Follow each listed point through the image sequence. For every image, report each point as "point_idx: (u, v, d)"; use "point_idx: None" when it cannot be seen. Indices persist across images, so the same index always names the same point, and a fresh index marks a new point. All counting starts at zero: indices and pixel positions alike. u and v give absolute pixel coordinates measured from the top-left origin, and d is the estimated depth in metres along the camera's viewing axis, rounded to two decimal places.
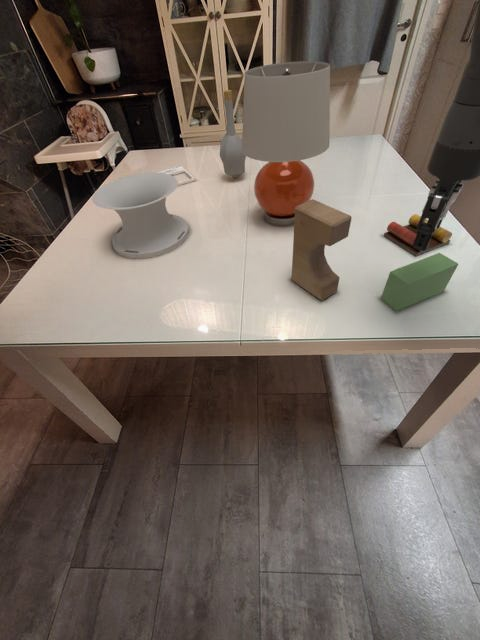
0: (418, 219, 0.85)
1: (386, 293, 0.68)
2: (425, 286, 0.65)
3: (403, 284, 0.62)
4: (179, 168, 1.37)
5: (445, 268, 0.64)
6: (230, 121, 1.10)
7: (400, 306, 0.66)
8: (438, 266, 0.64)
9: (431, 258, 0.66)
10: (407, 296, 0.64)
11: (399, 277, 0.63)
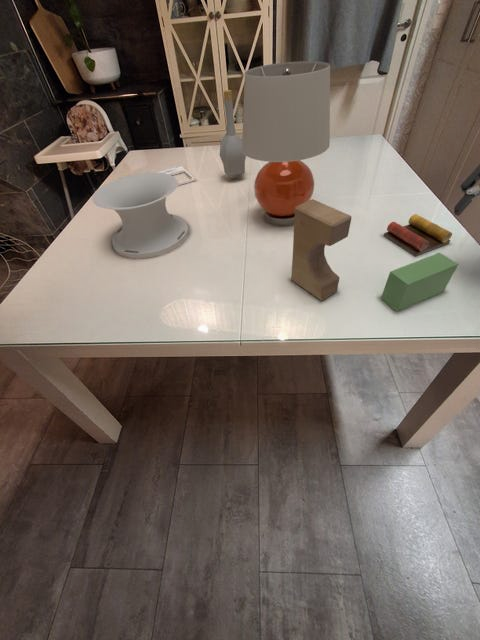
0: (418, 219, 0.85)
1: (386, 293, 0.68)
2: (425, 286, 0.65)
3: (403, 284, 0.62)
4: (179, 168, 1.37)
5: (445, 268, 0.64)
6: (230, 121, 1.10)
7: (400, 306, 0.66)
8: (438, 266, 0.64)
9: (431, 258, 0.66)
10: (407, 296, 0.64)
11: (399, 277, 0.63)
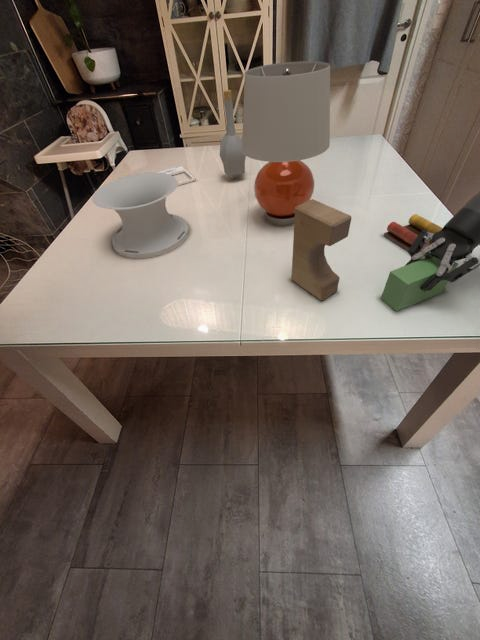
0: (418, 219, 0.85)
1: (386, 293, 0.68)
2: None
3: (403, 284, 0.62)
4: (179, 168, 1.37)
5: None
6: (230, 121, 1.10)
7: (400, 306, 0.66)
8: (438, 266, 0.64)
9: (431, 258, 0.66)
10: (407, 295, 0.64)
11: (399, 277, 0.63)
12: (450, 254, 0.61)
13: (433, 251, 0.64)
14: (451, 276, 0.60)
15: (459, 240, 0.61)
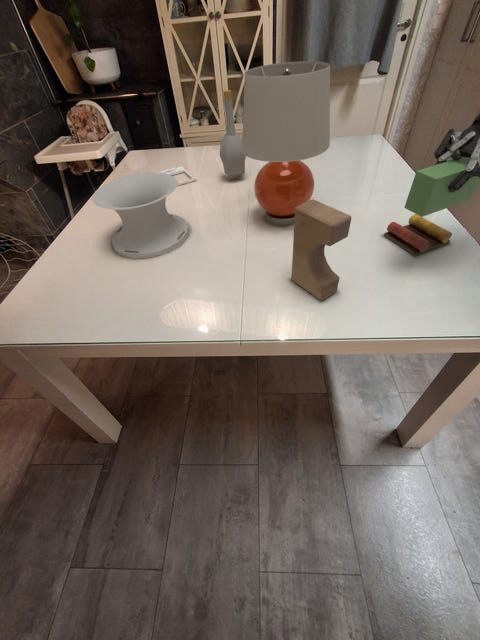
0: (418, 219, 0.85)
1: (411, 198, 0.65)
2: None
3: (431, 180, 0.59)
4: (179, 168, 1.37)
5: None
6: (230, 121, 1.10)
7: (426, 210, 0.63)
8: (466, 165, 0.61)
9: (458, 159, 0.63)
10: (434, 196, 0.61)
11: (427, 174, 0.60)
12: None
13: (462, 148, 0.61)
14: None
15: None
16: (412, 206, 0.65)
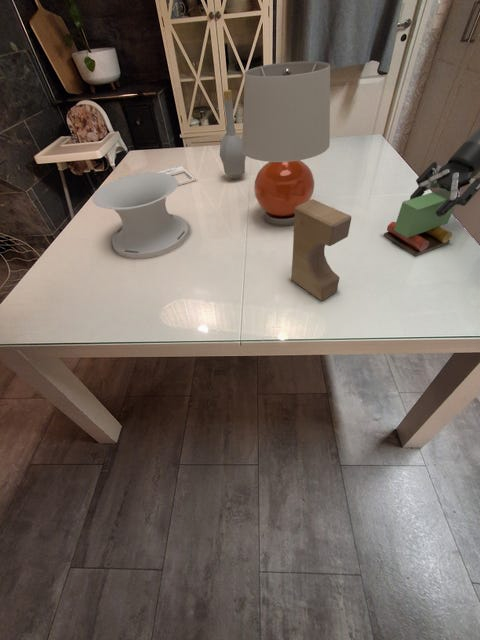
0: None
1: (398, 223, 0.80)
2: (432, 215, 0.77)
3: (414, 210, 0.74)
4: (179, 168, 1.37)
5: (449, 198, 0.76)
6: (230, 121, 1.10)
7: (410, 233, 0.78)
8: (442, 197, 0.76)
9: (437, 192, 0.78)
10: (417, 222, 0.76)
11: (411, 205, 0.75)
12: (456, 180, 0.72)
13: (439, 182, 0.75)
14: (463, 198, 0.70)
15: (461, 169, 0.72)
16: (400, 229, 0.80)
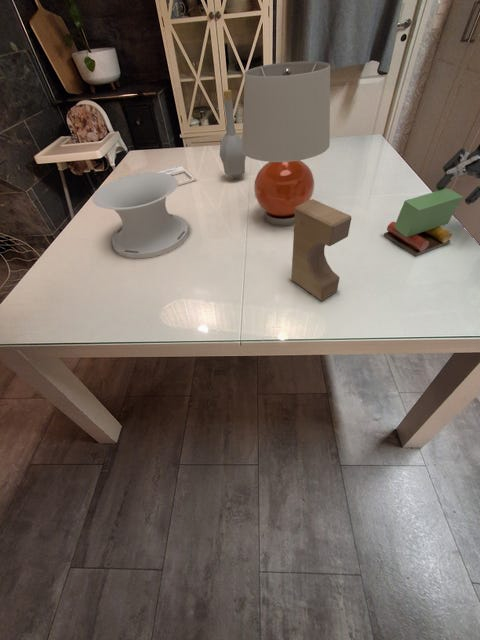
0: None
1: (399, 221, 0.80)
2: (433, 215, 0.77)
3: (415, 210, 0.74)
4: (179, 168, 1.37)
5: (451, 199, 0.75)
6: (230, 121, 1.10)
7: (410, 232, 0.78)
8: (445, 198, 0.76)
9: (440, 192, 0.78)
10: (417, 222, 0.76)
11: (412, 205, 0.75)
12: None
13: (468, 168, 0.73)
14: None
15: None
16: (400, 227, 0.80)
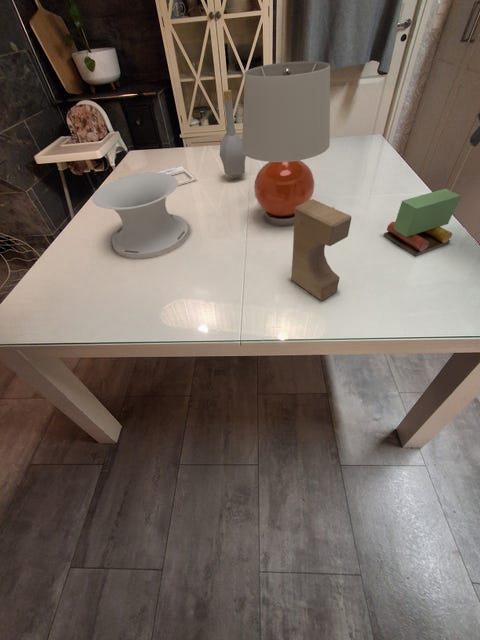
0: None
1: (398, 222, 0.80)
2: (431, 214, 0.77)
3: (413, 209, 0.75)
4: (179, 168, 1.37)
5: (449, 198, 0.76)
6: (230, 121, 1.10)
7: (409, 232, 0.79)
8: (443, 197, 0.76)
9: (438, 192, 0.78)
10: (416, 221, 0.77)
11: (410, 204, 0.75)
12: None
13: None
14: None
15: None
16: (399, 228, 0.81)
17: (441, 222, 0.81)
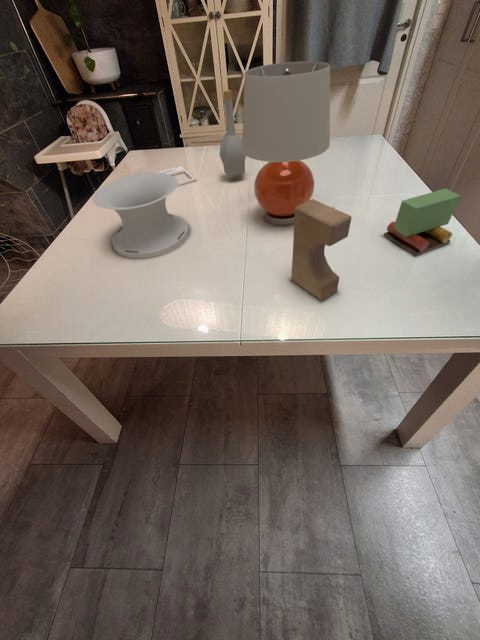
0: None
1: (398, 222, 0.80)
2: (431, 214, 0.77)
3: (413, 209, 0.75)
4: (179, 168, 1.37)
5: (449, 198, 0.76)
6: (230, 121, 1.10)
7: (409, 232, 0.79)
8: (443, 197, 0.76)
9: (438, 192, 0.78)
10: (416, 221, 0.77)
11: (410, 204, 0.75)
12: None
13: None
14: None
15: None
16: (399, 228, 0.81)
17: (441, 222, 0.81)
